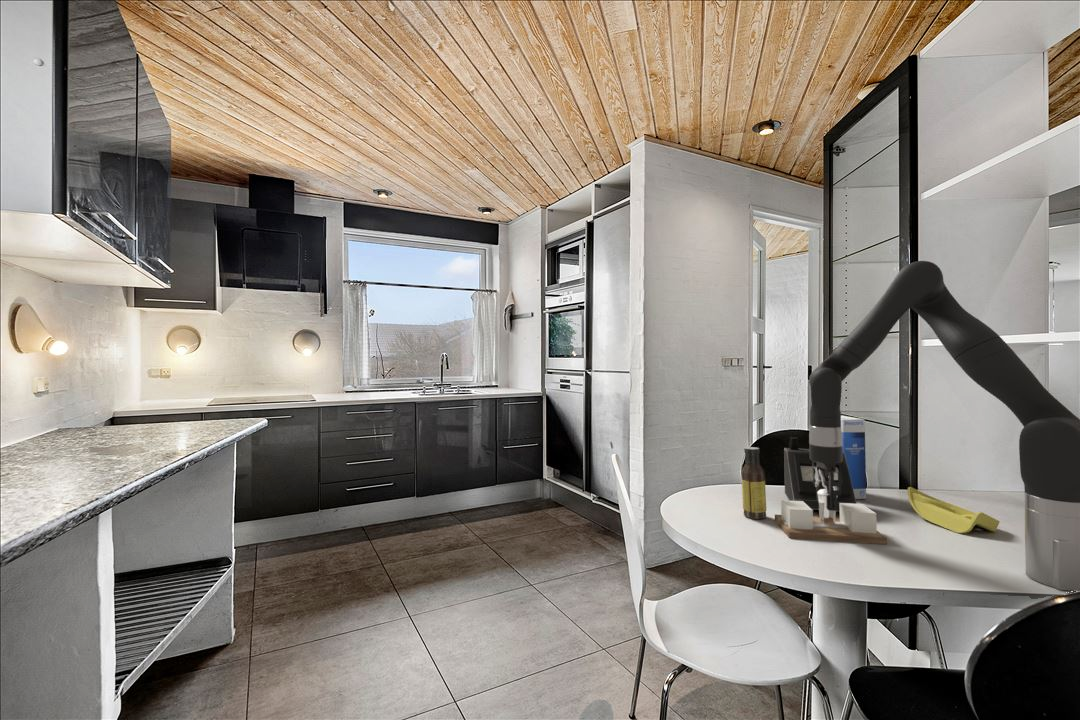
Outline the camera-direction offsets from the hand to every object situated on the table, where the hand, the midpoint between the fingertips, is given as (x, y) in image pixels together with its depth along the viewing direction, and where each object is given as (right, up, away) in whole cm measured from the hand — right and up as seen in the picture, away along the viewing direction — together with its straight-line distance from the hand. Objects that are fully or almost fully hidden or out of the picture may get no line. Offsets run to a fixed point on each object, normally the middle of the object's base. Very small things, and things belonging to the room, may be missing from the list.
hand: (826, 505), depth 125 cm
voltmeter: (+10, -7, +20) cm, 24 cm away
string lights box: (+26, -7, +33) cm, 43 cm away
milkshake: (0, -5, -1) cm, 5 cm away
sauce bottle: (-14, -7, +12) cm, 20 cm away
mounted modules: (0, -5, 0) cm, 5 cm away
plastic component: (+37, -7, +6) cm, 38 cm away
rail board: (0, -7, 0) cm, 7 cm away
